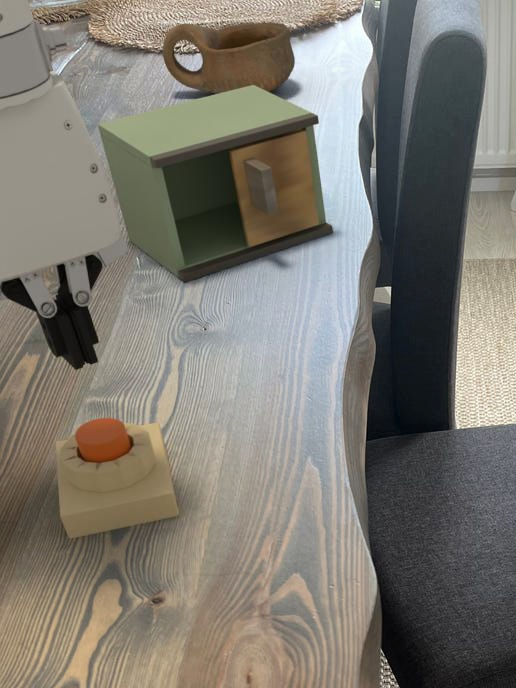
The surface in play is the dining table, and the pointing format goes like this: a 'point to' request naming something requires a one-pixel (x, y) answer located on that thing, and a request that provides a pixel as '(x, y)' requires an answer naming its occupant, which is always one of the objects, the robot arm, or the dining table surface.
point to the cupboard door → (274, 187)
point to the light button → (102, 440)
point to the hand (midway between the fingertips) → (79, 358)
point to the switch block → (116, 485)
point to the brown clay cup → (233, 56)
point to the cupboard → (200, 177)
